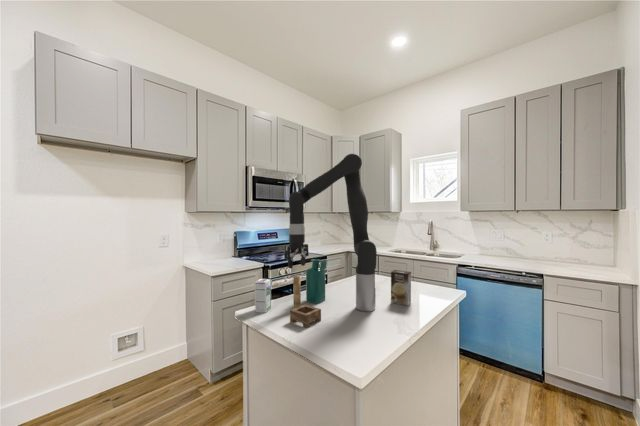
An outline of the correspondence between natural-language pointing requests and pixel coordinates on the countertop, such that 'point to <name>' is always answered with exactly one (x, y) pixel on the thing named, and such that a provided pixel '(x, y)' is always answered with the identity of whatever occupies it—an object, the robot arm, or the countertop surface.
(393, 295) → the coffee box
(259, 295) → the syrup box
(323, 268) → the teal bottle
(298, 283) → the rod
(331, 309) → the countertop surface
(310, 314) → the brown wooden square frame
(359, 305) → the robot arm
